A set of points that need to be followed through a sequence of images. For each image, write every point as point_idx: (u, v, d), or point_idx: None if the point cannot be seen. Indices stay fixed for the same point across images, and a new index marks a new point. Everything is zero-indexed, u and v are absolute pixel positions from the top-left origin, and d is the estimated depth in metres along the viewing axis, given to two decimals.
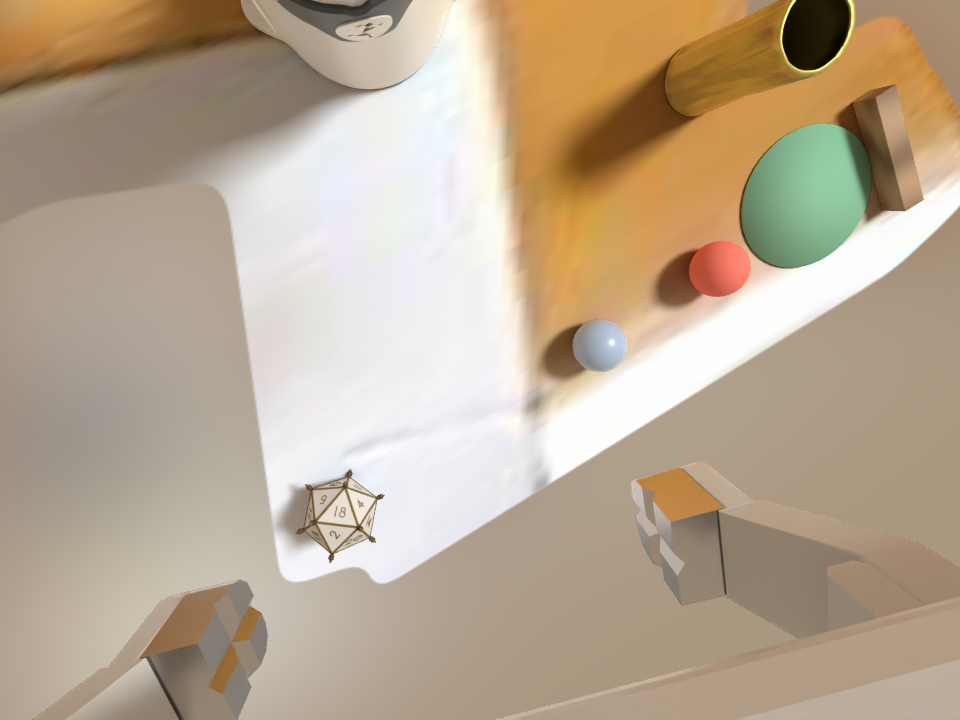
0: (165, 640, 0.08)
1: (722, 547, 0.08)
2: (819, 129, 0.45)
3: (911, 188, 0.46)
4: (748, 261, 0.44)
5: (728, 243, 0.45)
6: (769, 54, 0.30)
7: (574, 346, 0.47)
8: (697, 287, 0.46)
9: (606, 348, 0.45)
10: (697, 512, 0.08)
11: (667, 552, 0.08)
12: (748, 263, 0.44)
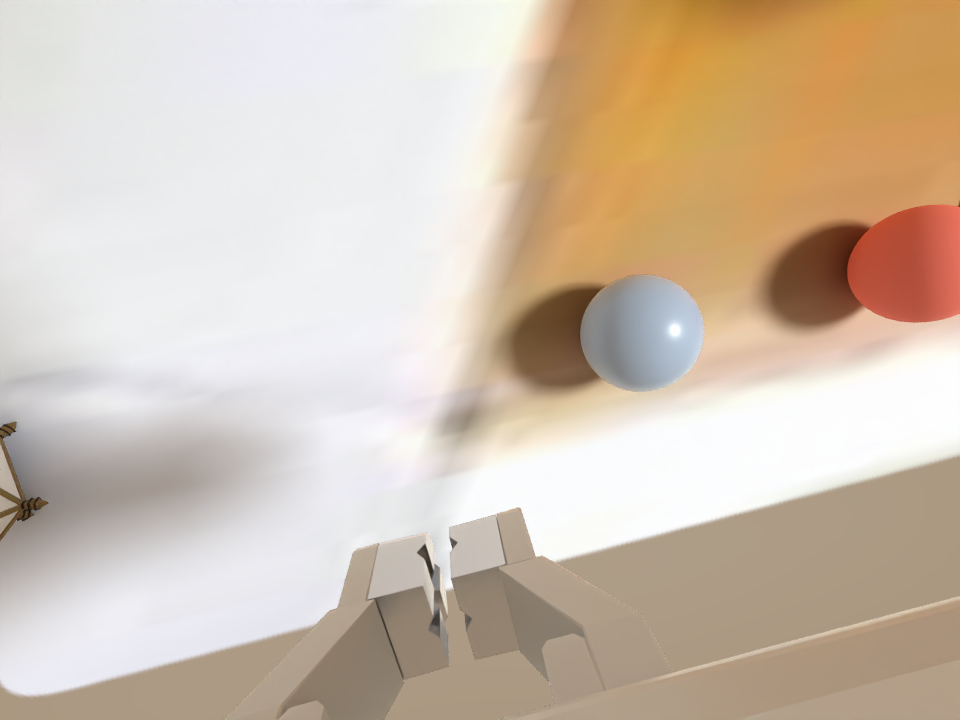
0: (385, 584, 0.08)
1: (508, 602, 0.08)
2: None
3: None
4: None
5: None
6: None
7: (589, 313, 0.21)
8: (869, 285, 0.22)
9: (666, 330, 0.19)
10: (481, 567, 0.08)
11: None
12: None
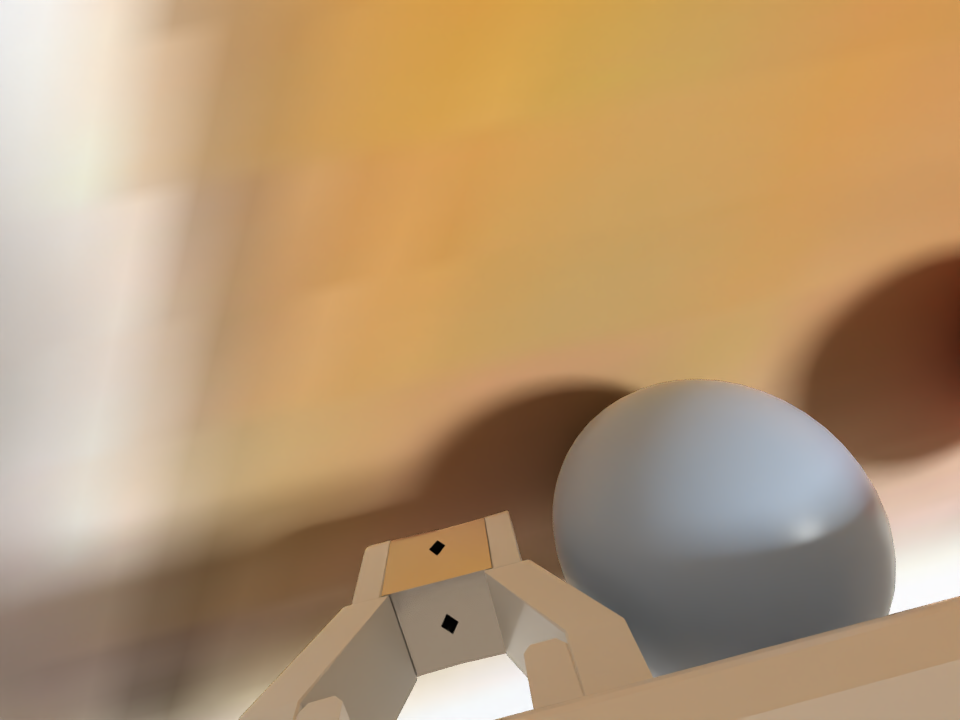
0: (398, 581, 0.08)
1: (494, 605, 0.08)
2: None
3: None
4: None
5: None
6: None
7: (691, 560, 0.06)
8: None
9: None
10: (468, 571, 0.08)
11: None
12: None
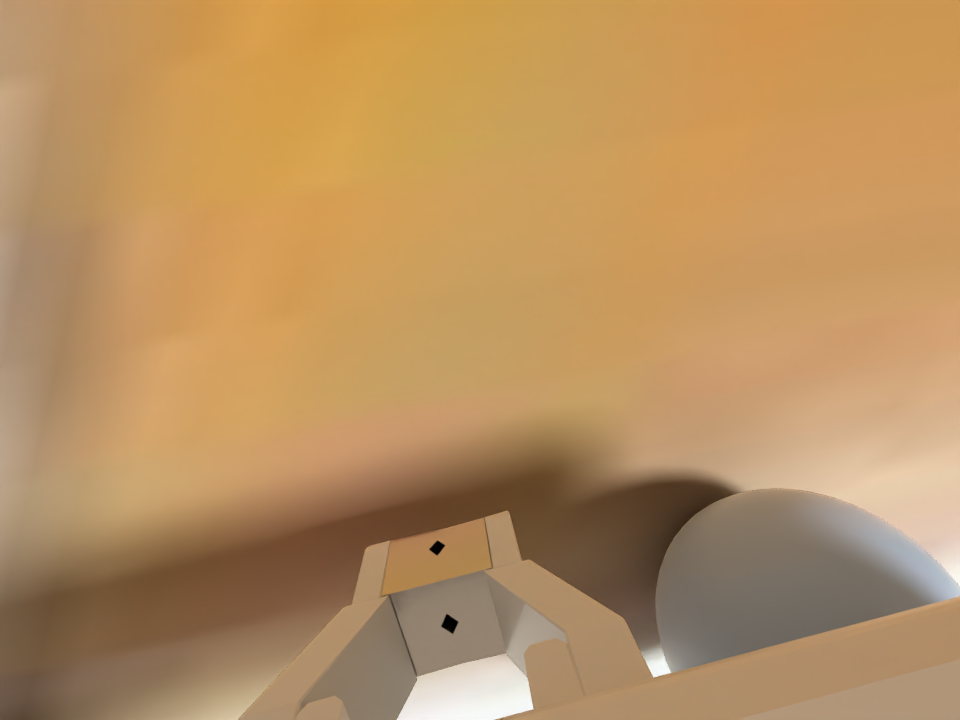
0: (398, 581, 0.08)
1: (494, 606, 0.08)
2: None
3: None
4: None
5: None
6: None
7: None
8: None
9: None
10: (468, 571, 0.08)
11: None
12: None
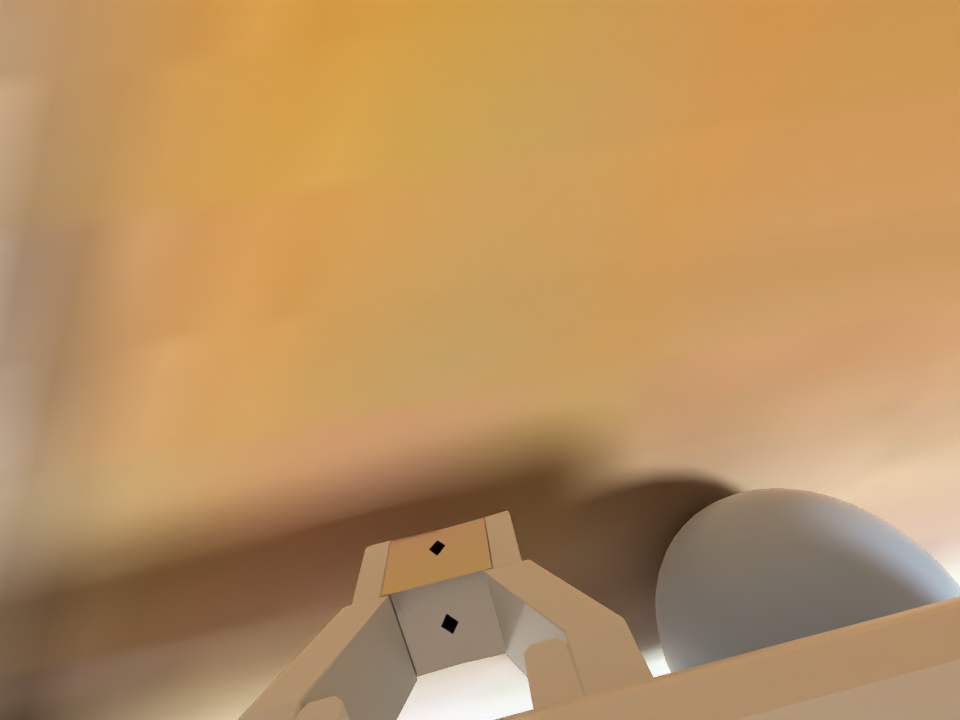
0: (398, 581, 0.08)
1: (494, 606, 0.08)
2: None
3: None
4: None
5: None
6: None
7: None
8: None
9: None
10: (468, 571, 0.08)
11: None
12: None
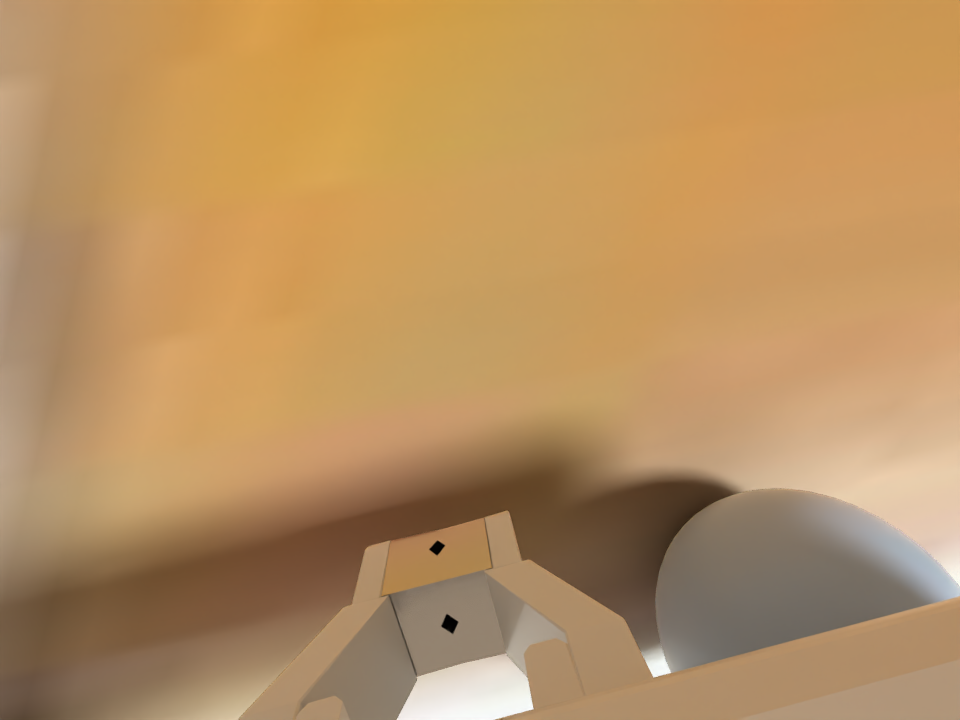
0: (398, 581, 0.08)
1: (494, 606, 0.08)
2: None
3: None
4: None
5: None
6: None
7: None
8: None
9: None
10: (468, 571, 0.08)
11: None
12: None
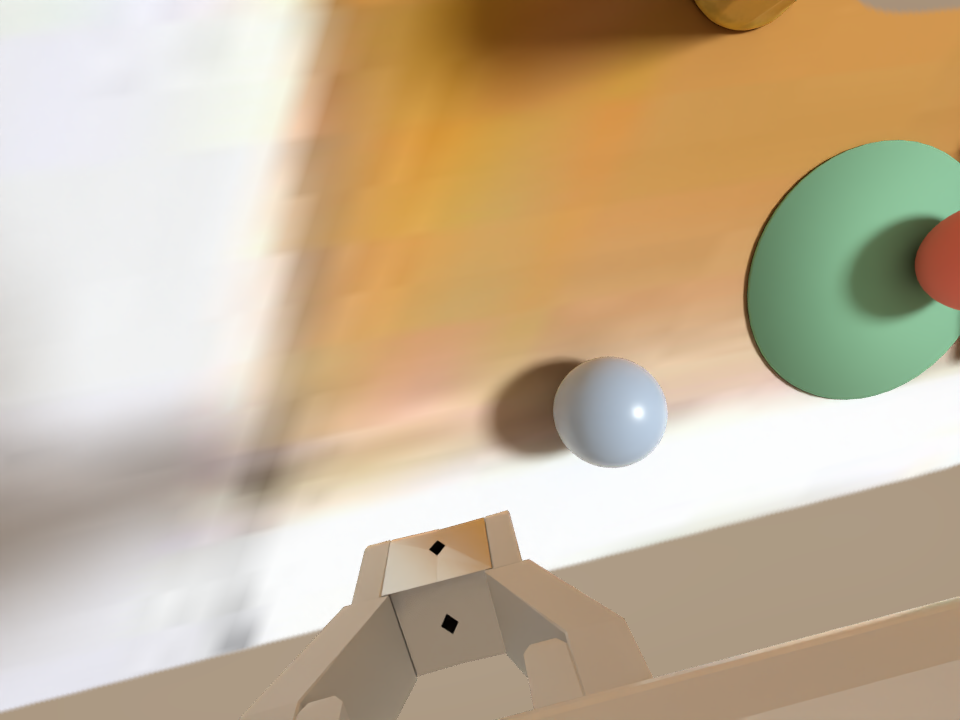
0: (398, 581, 0.08)
1: (494, 605, 0.08)
2: (929, 157, 0.24)
3: None
4: None
5: None
6: None
7: None
8: (918, 274, 0.24)
9: None
10: (468, 571, 0.08)
11: None
12: None
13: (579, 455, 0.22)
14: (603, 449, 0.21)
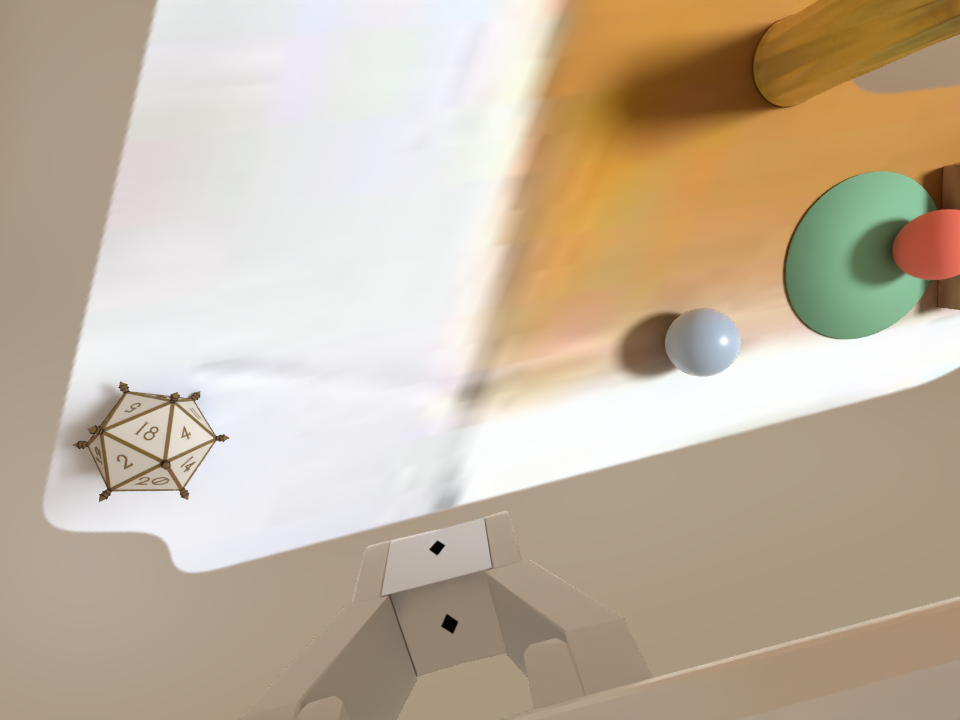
0: (399, 581, 0.08)
1: (494, 605, 0.08)
2: (901, 181, 0.38)
3: None
4: None
5: None
6: None
7: None
8: (894, 255, 0.38)
9: None
10: (468, 571, 0.08)
11: None
12: None
13: (686, 368, 0.36)
14: (704, 361, 0.35)
